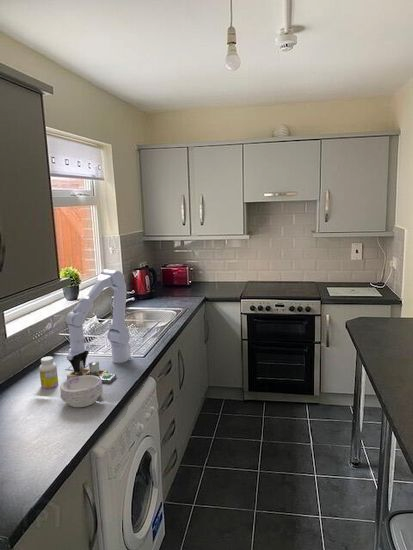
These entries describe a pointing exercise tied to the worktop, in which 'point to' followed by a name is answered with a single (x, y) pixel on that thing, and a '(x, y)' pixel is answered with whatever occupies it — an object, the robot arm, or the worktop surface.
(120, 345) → the robot arm
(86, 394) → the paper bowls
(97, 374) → the seated billet
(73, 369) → the tray
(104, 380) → the grey square socket block
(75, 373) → the billet
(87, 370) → the wooden compartment tray
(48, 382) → the supplement bottle
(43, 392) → the worktop surface
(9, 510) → the worktop surface
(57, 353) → the worktop surface
